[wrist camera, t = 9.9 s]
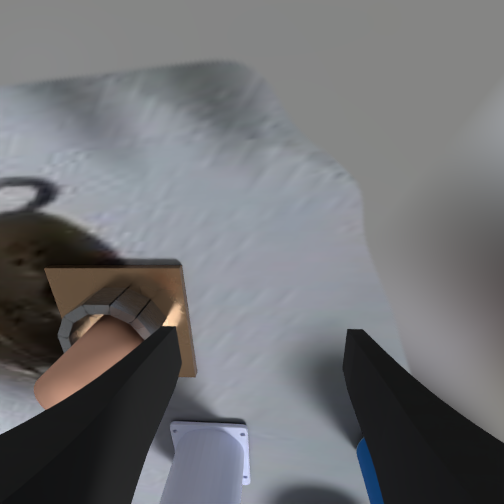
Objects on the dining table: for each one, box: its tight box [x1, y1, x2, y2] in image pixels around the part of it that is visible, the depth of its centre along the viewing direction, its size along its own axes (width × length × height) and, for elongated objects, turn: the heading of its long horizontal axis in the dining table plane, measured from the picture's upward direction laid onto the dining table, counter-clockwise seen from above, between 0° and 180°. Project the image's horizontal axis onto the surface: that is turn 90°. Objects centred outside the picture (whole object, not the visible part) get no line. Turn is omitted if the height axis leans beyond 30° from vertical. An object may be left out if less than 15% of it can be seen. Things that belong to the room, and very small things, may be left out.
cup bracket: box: [44, 265, 197, 377], centre depth 21 cm, size 11×11×3 cm
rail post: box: [34, 315, 144, 410], centre depth 19 cm, size 4×4×7 cm
